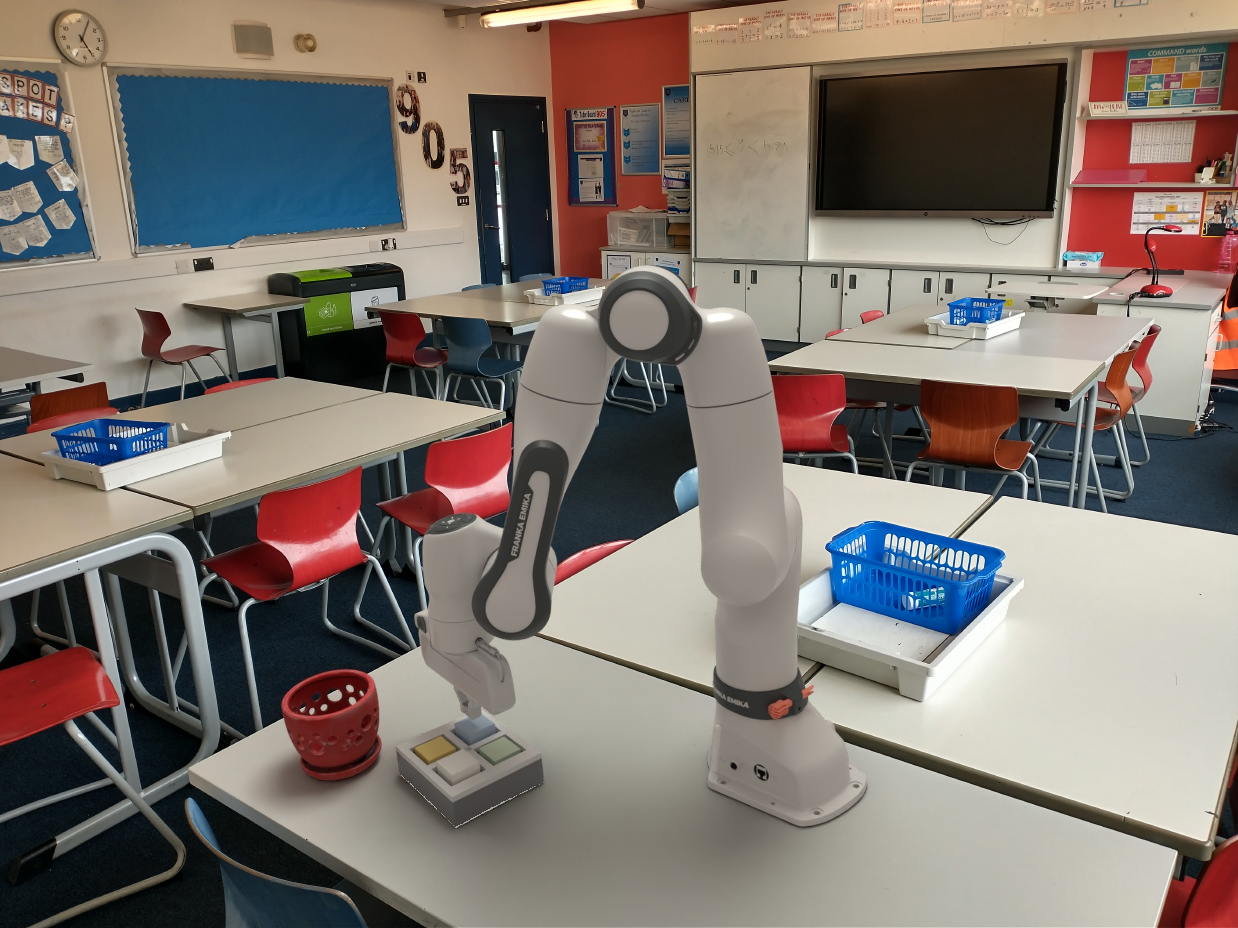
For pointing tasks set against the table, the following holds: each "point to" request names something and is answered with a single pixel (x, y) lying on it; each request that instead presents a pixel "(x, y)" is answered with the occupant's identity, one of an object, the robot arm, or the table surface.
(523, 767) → the keypad
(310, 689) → the plant pot
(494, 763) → the key sage
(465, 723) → the key blue
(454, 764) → the key grey
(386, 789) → the table surface
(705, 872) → the table surface
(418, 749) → the key mustard
